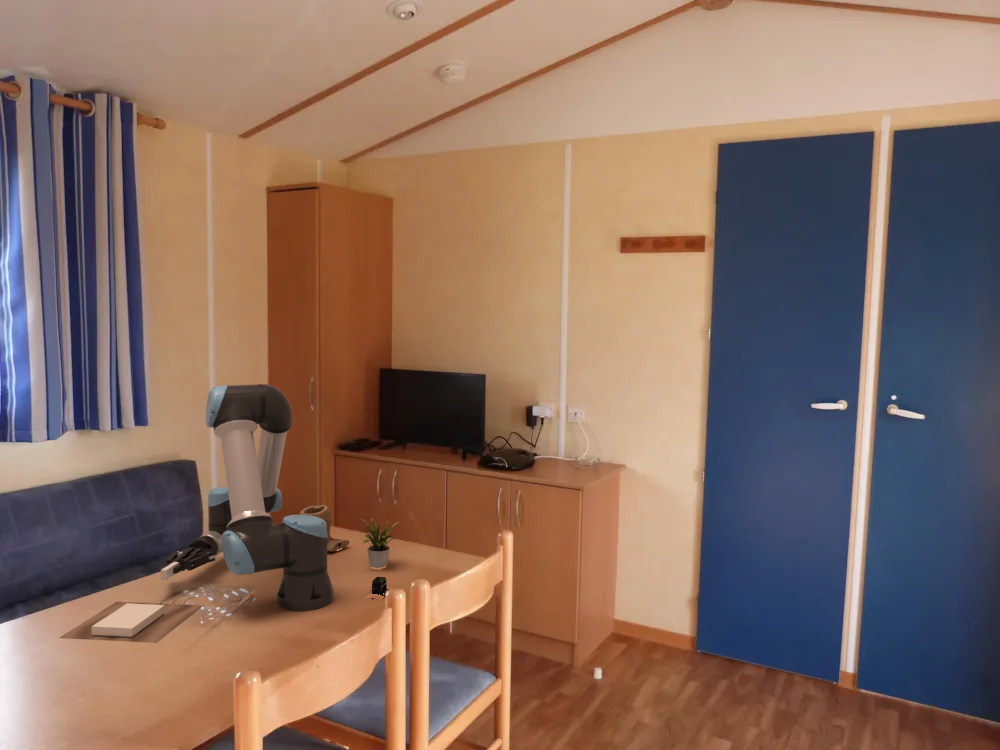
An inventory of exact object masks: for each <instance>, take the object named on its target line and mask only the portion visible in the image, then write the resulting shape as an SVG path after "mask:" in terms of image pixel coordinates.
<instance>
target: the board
mask: <svg viewBox="0 0 1000 750" xmlns="http://www.w3.org/2000/svg"><path fill="white" fill-rule="evenodd" d="M127 603H129V604H151V605H165V613H164V614H163V615H161V616H160V617H159V618H157V619H156V620H155V621H153V622H152V623H150V624H149V625H148V626H146V627H145V628H144V629H142V630H141V631H139V632H138V633H137V634H135V635H134V636H133V637H114V636H94V635H92V628H91V627H92V626H93V625H95V624H96V623H98V622H99V621H101V620H102V619H104V618H105V617H107V616H109V615H110V614H112V613H113V612H115V611H116V610H118V609H119V608H121V607H123V606H124V605H126V604H127ZM204 606H205V605H202V604H201V605H198V604H184V603H183V604H179V603H157V602H156V603H155V602H153V603H152V602H138V601H137V602H135V601H133V602H132V601H115V602H114V603H112V604H111V605H109V606H107V607H106V608H104V609H102V610H101V611H100V612H98V613H96V614H95V615H93V616H92V617H90V618H88V619H86V620H85V621H83V622H82V623H80V624H79V625H77V626H75V627H73V628H72V629H71V630H69V631H67V632H66V633H64V634H63V635H61V636H59V637H58V638H59V639H68V640H69V639H72V640H90V641H91V640H92V641H112V642H113V641H114V642H134V643H135V642H136V643H152V644H153V643H155V644H157V643H158V642H159V641H161V640H162V639H164V638H165V637H166V636H168V635H169V634H170V633H171V632H173V631H174V629H176V628H177V627H179V626H180V625H181V624H183V623H184V622H185V621H186V620H188V619H189V618H190V617H192V616H193V615H194V614H195V613H197V612H198V611H199V610H200V609H201V608H203V607H204Z"/></svg>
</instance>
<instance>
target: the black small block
mask: <svg viewBox="0 0 1000 750" xmlns="http://www.w3.org/2000/svg"><path fill="white" fill-rule="evenodd" d="M387 587H388V586H387V577H386V576H384V577H383V576H376V577H375V578H373V580H372V581H371V591H372V594H378V595H379V594H380V595H382V596H384V598H383V600H384V599H385V598H386V597H385V593H386V591H387V590H389V589H387ZM383 593H384V595H383Z"/></svg>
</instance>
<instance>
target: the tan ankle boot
mask: <svg viewBox="0 0 1000 750" xmlns="http://www.w3.org/2000/svg"><path fill="white" fill-rule="evenodd" d="M299 515H310V516H315V517H319V518H321V519H323V520H324V521H325V522H326V525H327V534H328V537H327V552H333V551H335V550H337V549H340V548H343V547H345V548H347V547H348V545H350V540H349V539H340V538H333V537H332V536H331V528H332V512H331V509H330V507H329V506H327V505H325V504H321V505H310V506H307V507H305V508H304V509H302V510H301V511H300V512H299Z"/></svg>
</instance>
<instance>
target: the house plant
mask: <svg viewBox="0 0 1000 750" xmlns="http://www.w3.org/2000/svg"><path fill="white" fill-rule="evenodd" d="M358 519H359V520H362V521H363V522H364V523H365V524H366V525H363V524H362V525H361V524H360V526H361V527H364V528H363V530H364V531H365V532H366V534H364V535H363V537H365V538H366V539H364V540H363V541H362V544H361V546H362V545H364V544H366V543H369V542H371V544H372V545H370V546H368V547H367V549H366V550H367V555H368V564H369V567H370V566H371V567H375V568H380V567H384V566H386V565H387V566H388V563H389V557H390V550H391V547H390V546H389V545H388V543H389V542H391V541H392V540H394V539H395V537H394V535H391V534H390V535H388V533H389V532H390V531H391V530H392V529H393V528H394V526H396V525H397V524H399V523H400V521H397V522H395V523H393V524H392V525H391V527H390V526H389V527H388V524H389V520H387V522H386V524H385V526H384V529H383V531H381V532H380V529H381V525H382V523H381V522H379V524H378V525H377V524H376V522H375V520H374V518H372V517H371V518H370V520H371V523H372V528H371V526H370V525H369V523H368V522H367V520H365V519H362V518H360V517H359V518H358ZM361 527H358V528H360V529H361ZM366 529H367V530H366ZM391 537H392V538H391ZM389 538H390V539H389ZM358 539H361V540H362V538H360V537H358ZM388 539H389V540H388Z"/></svg>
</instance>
